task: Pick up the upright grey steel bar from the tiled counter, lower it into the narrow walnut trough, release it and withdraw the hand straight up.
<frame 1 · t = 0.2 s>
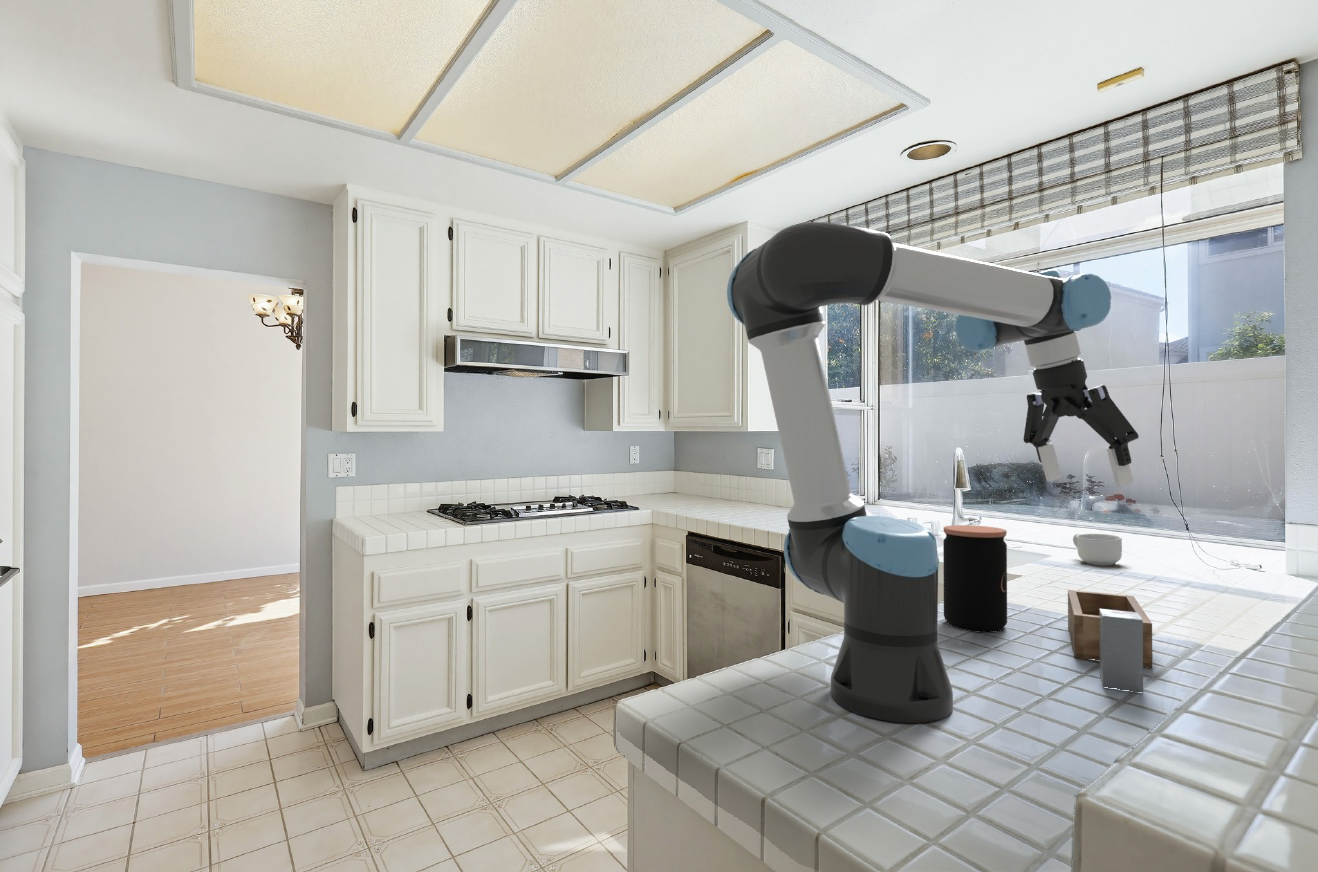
hand: (1087, 481, 111), 27 cm above the countertop, tool tilted 20°, fingers open, 13 cm apart
coffee jar: (974, 626, 121), on the countertop
trough: (1105, 645, 109), on the countertop
teacup: (1095, 563, 186), on the countertop
steel bar: (1120, 685, 91), on the countertop
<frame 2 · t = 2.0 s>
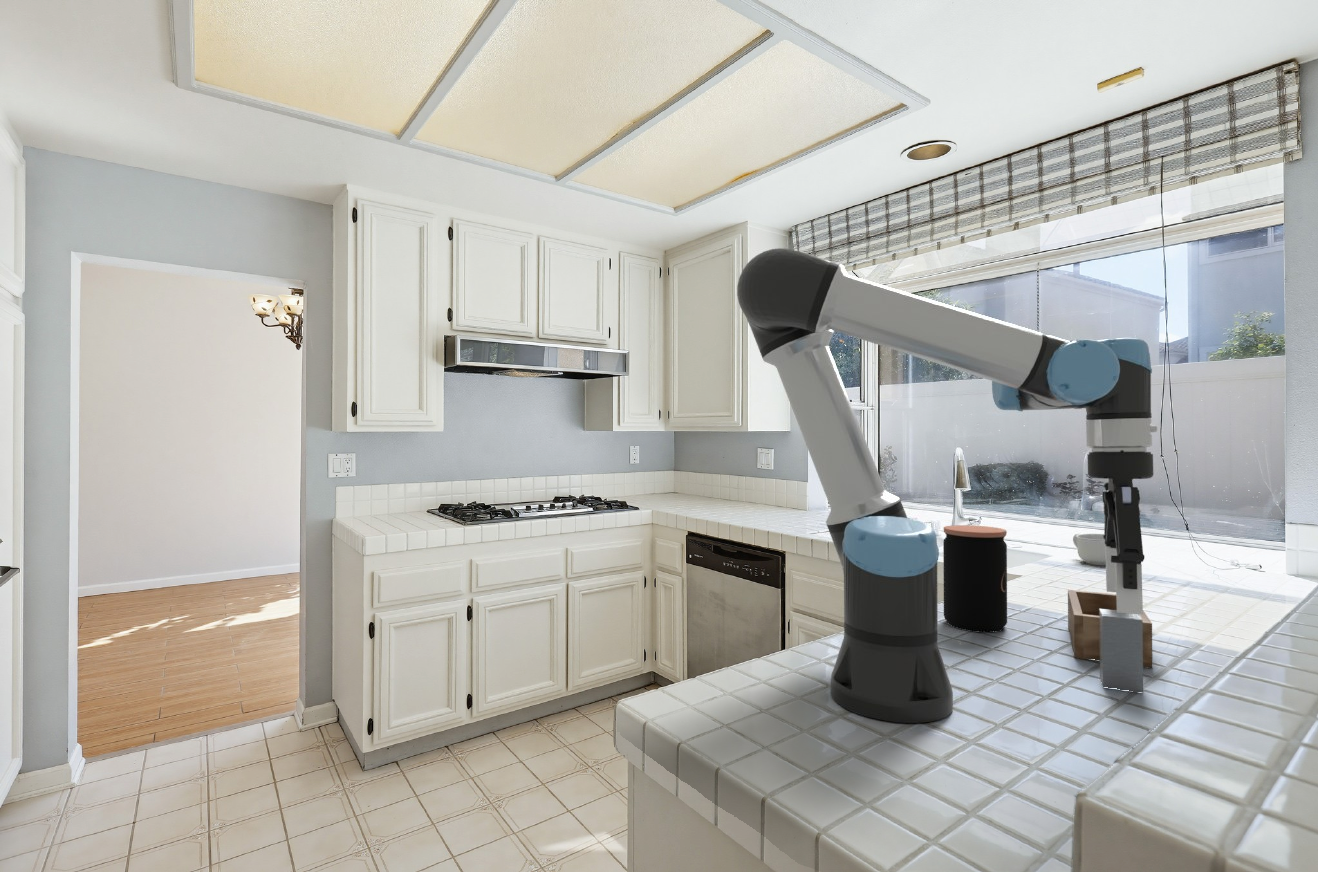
hand: (1123, 602, 91), 12 cm above the countertop, tool pointing down, fingers open, 13 cm apart
nothing on the countertop moved.
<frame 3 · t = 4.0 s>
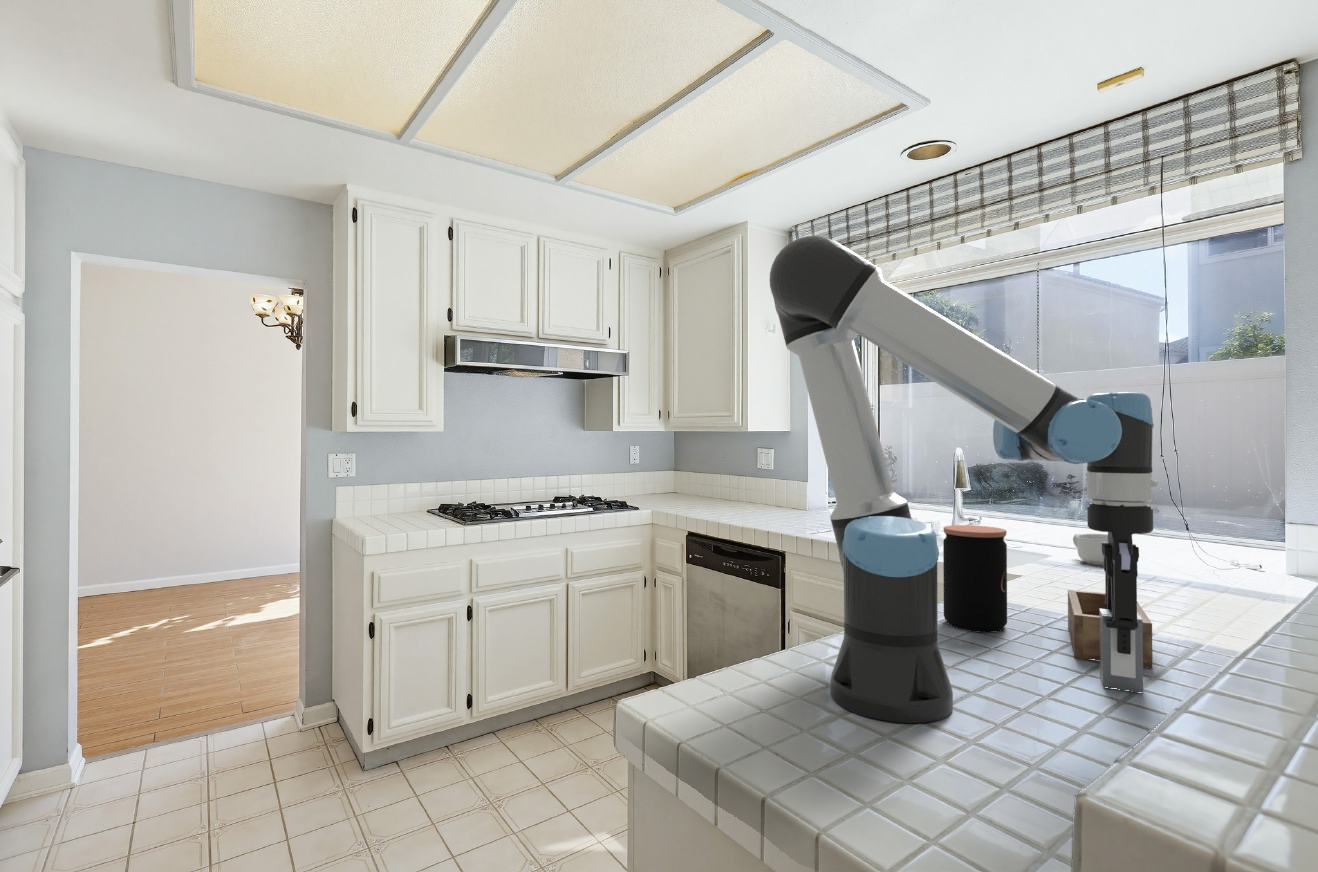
hand: (1120, 669, 91), 2 cm above the countertop, tool pointing down, fingers closed on steel bar, 4 cm apart
steel bar: (1120, 685, 91), on the countertop, touching gripper
everything else where it was.
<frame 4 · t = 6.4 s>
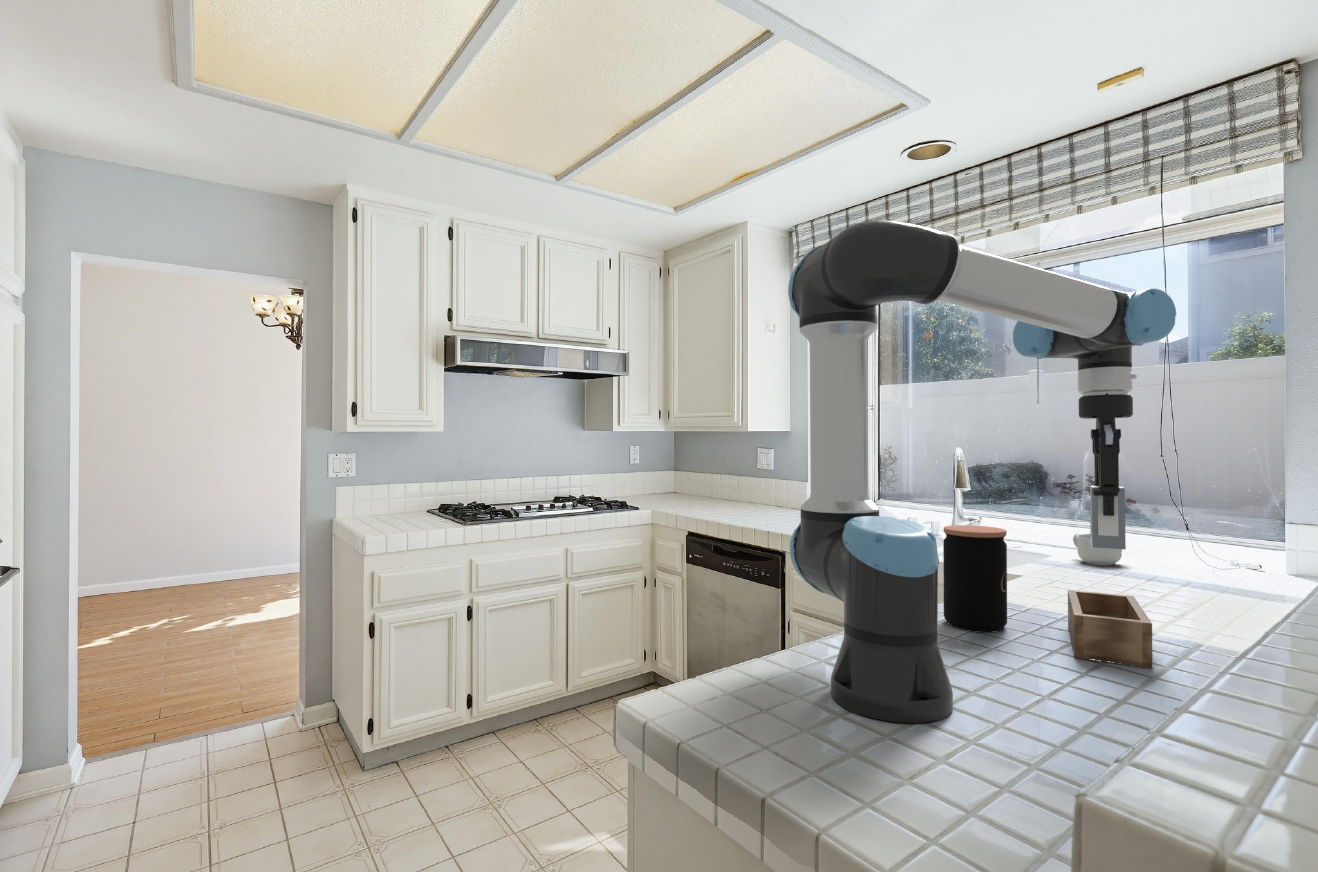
hand: (1106, 533, 109), 19 cm above the countertop, tool pointing down, fingers closed on steel bar, 4 cm apart
steel bar: (1107, 546, 109), point 17 cm above the countertop, touching gripper
everything else where it was.
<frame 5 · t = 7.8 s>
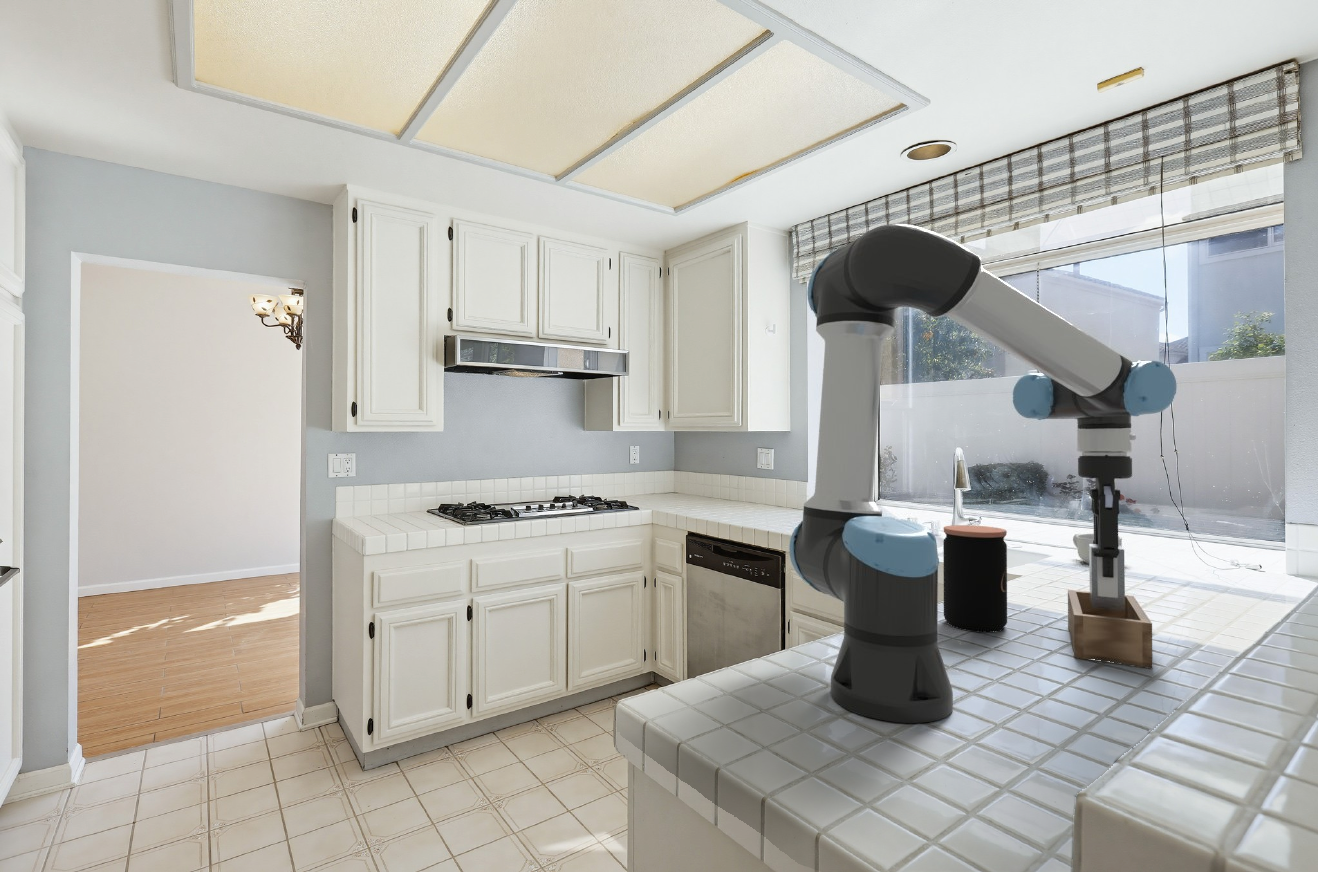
hand: (1106, 593, 109), 9 cm above the countertop, tool pointing down, fingers closed on steel bar, 4 cm apart
steel bar: (1106, 606, 109), point 7 cm above the countertop, touching gripper
everything else where it was.
when the fingers open (7 cm above the countertop, at t = 8.8 s): steel bar drops 4 cm, resting on trough.
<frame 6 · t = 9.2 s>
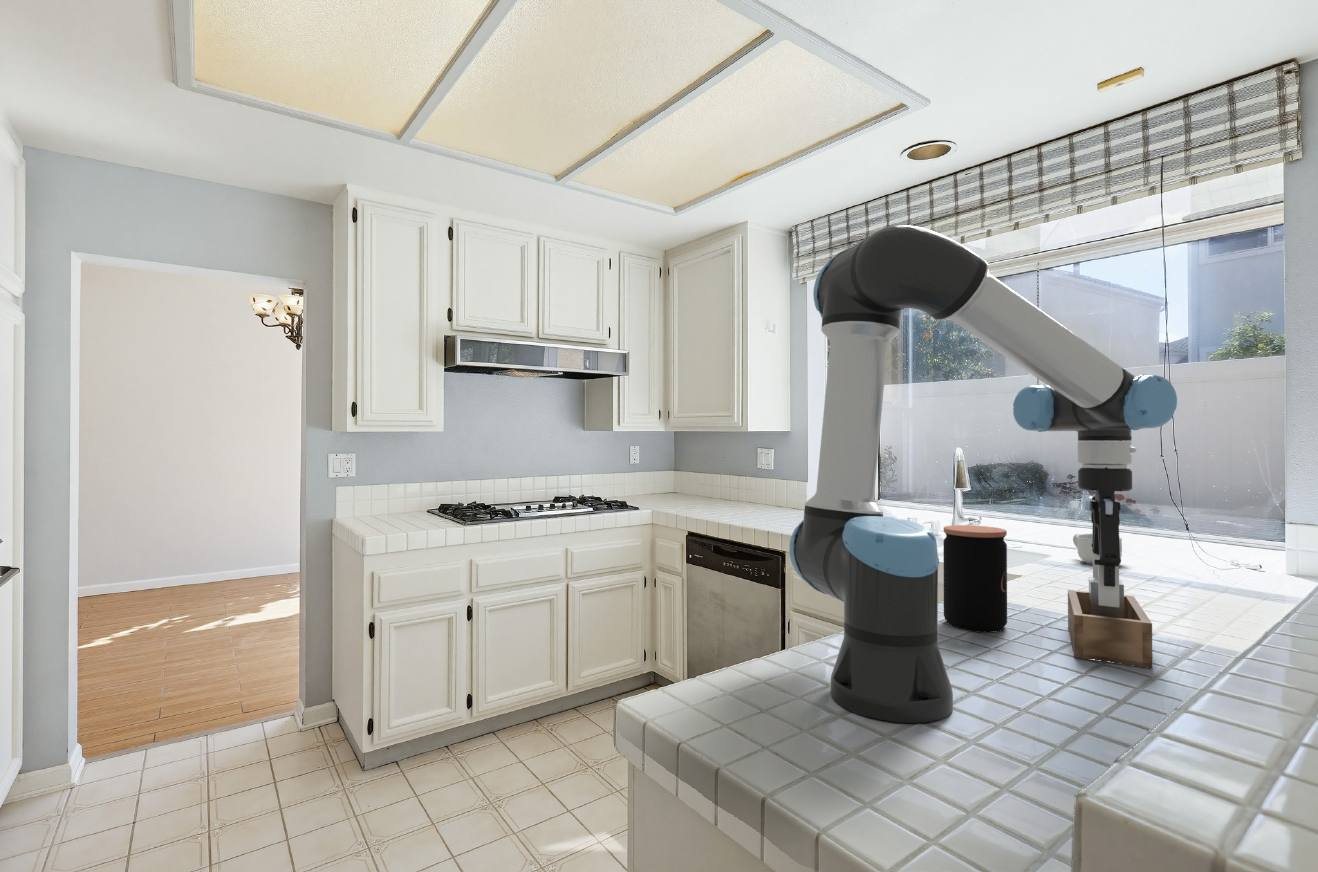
hand: (1105, 598, 109), 8 cm above the countertop, tool pointing down, fingers open, 10 cm apart
steel bar: (1106, 640, 109), point 1 cm above the countertop, touching trough
everything else where it was.
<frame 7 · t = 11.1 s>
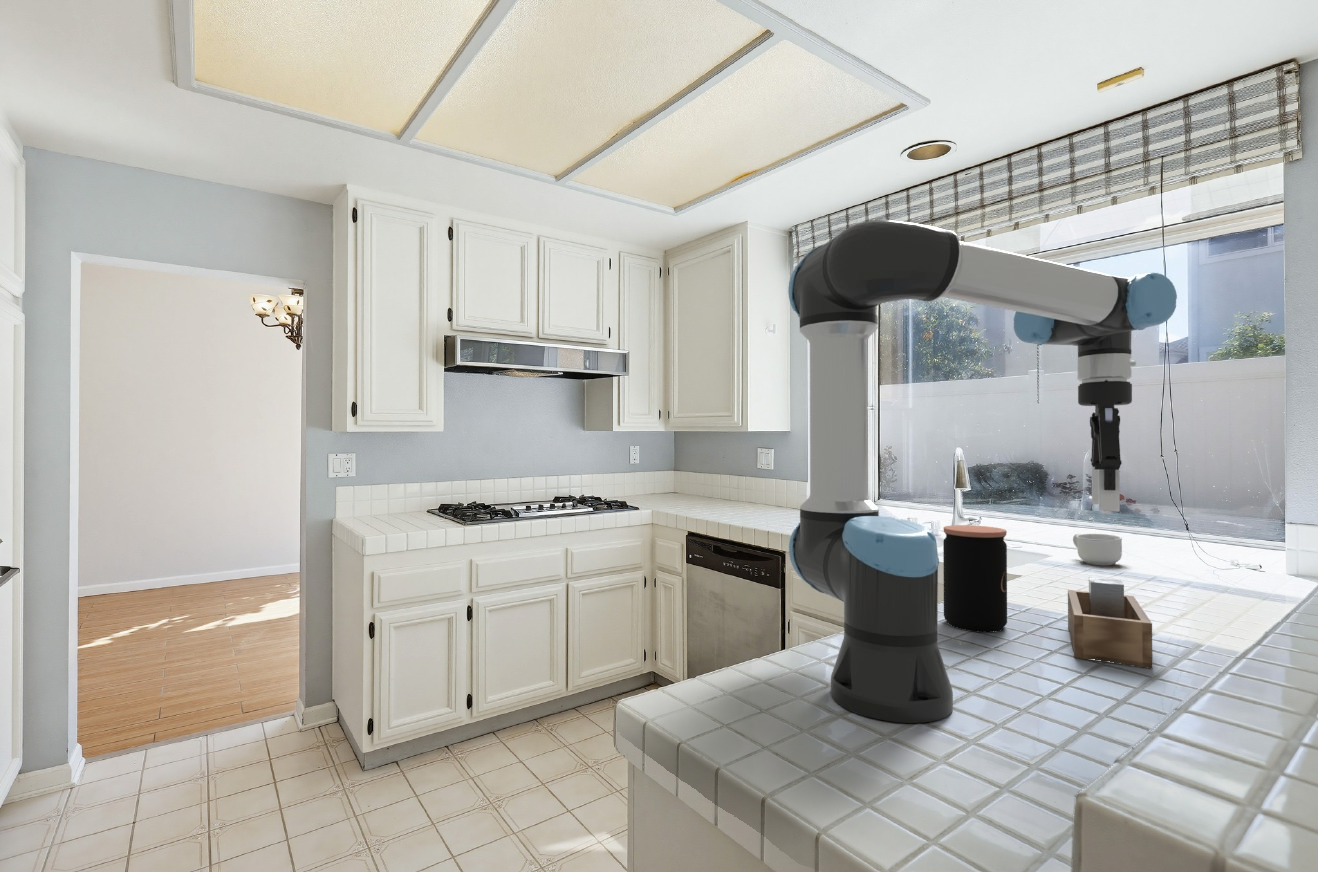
hand: (1104, 507, 109), 23 cm above the countertop, tool pointing down, fingers open, 13 cm apart
nothing on the countertop moved.
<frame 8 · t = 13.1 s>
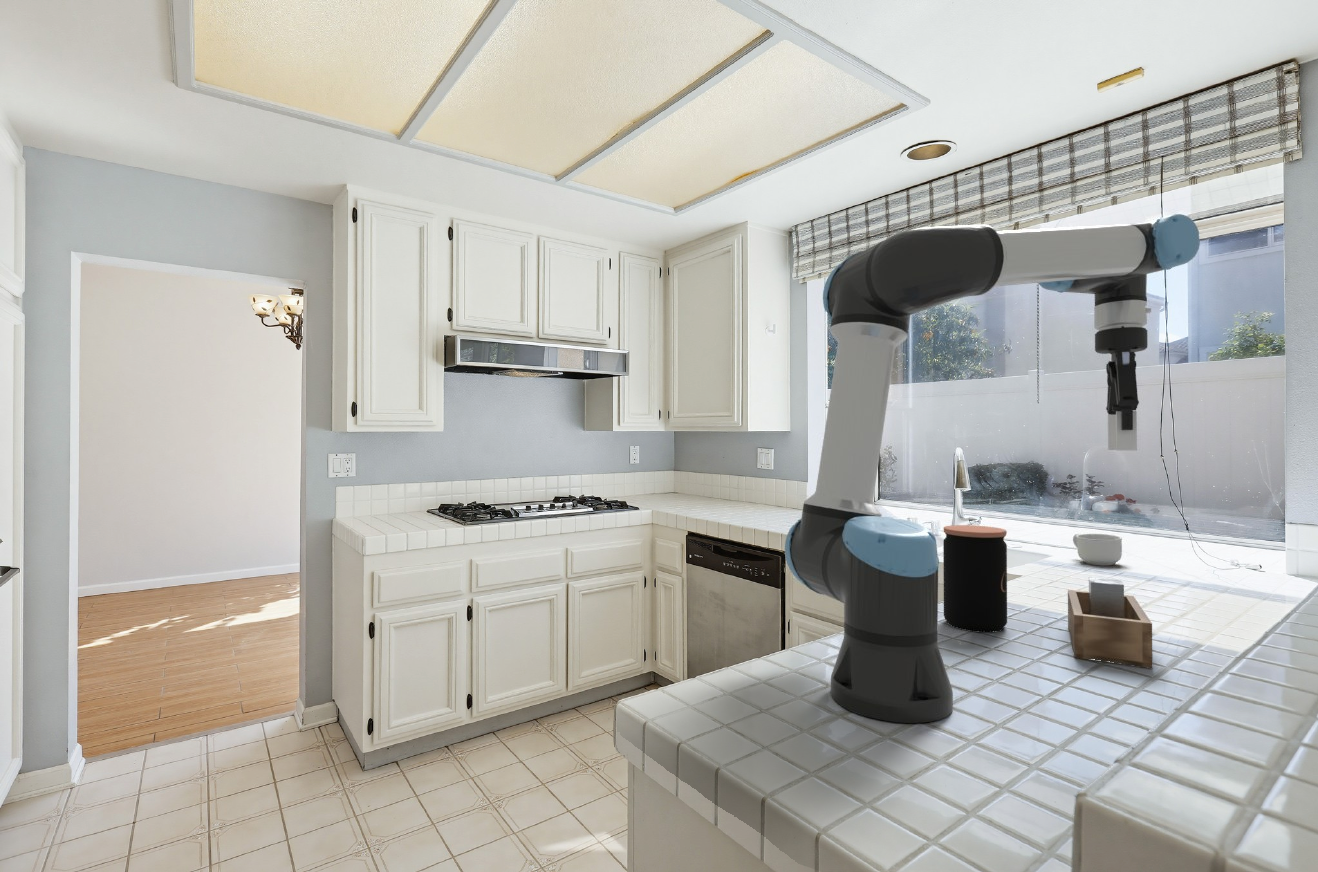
hand: (1121, 450, 113), 33 cm above the countertop, tool pointing down, fingers open, 13 cm apart
nothing on the countertop moved.
at the end: steel bar inside the target area on the trough (0.1 cm from its centre), point 0.8 cm above the trough's base; steel bar tilted 0°; the gripper is holding nothing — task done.
